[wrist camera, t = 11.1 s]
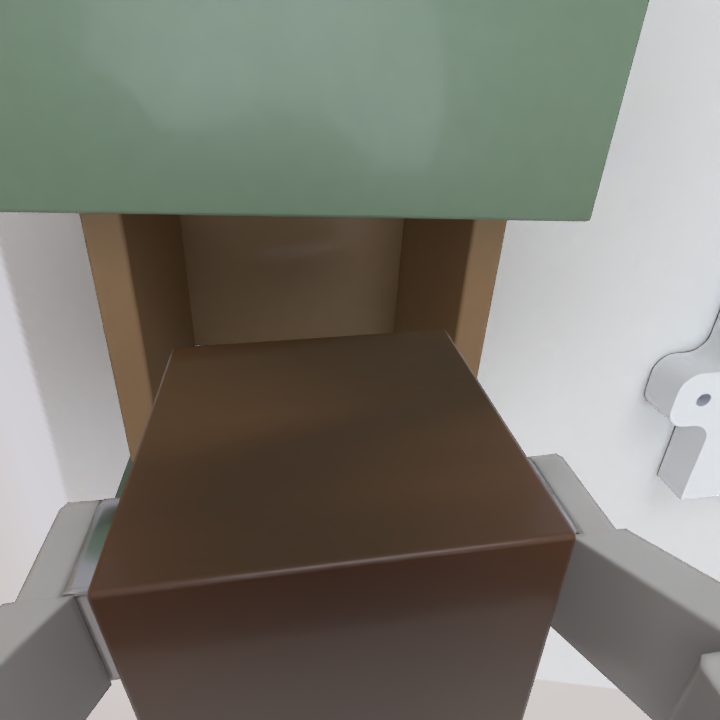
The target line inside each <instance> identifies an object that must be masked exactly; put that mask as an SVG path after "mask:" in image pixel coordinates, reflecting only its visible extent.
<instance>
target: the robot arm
mask: <svg viewBox="0 0 720 720" xmlns="http://www.w3.org/2000/svg"><path fill="white" fill-rule="evenodd" d="M527 458H528V460H529V461H530V463H531V464H532V466H533V468H534V469H535V471H536V472H537V474H538V475H539V477H540V478H541V480H542V482H543V483H544V485H545V486H546V488H547V489H548V491H549V493H550V494H551V496H552V497H553V499H554V500H555V502H556V503H557V505H558V507H559V508H560V510H561V511H562V513H563V514H564V516H565V518H566V519H567V521H568V522H569V524H570V525H571V527H572V528H573V530H574V532H575V535H576V541H575V545H574V548H573V551H572V555H571V558H570V561H569V565H568V568H567V572H566V575H565V578H564V582H563V585H562V588H561V592H560V595H559V598H558V602H557V605H556V609H555V612H554V615H553V619H552V622H551V625H550V626H551V627H552V628H553V629H554V630H556V631H557V632H558V633H559V634H560V635H561V636H562V637H563V638H564V639H565V640H566V641H567V642H569V643H570V644H571V645H572V646H573V647H574V648H575V649H576V650H577V651H578V652H579V653H581V654H582V655H583V656H584V657H585V658H586V659H587V660H588V661H589V662H590V663H591V664H592V665H594V666H595V667H596V668H597V669H598V670H599V671H600V672H601V673H602V674H603V675H604V676H606V677H607V678H608V679H609V680H610V681H611V682H612V683H613V684H614V685H615V686H616V687H617V688H619V689H620V690H621V691H622V692H623V693H624V694H625V695H626V696H627V697H628V698H629V699H631V700H632V701H633V702H634V703H635V704H636V705H637V706H638V707H639V708H640V709H641V710H643V711H644V712H645V713H646V714H647V715H648V716H649V717H650V718H651V719H652V720H720V582H718V581H717V580H715V579H713V578H711V577H710V576H708V575H706V574H704V573H703V572H701V571H699V570H697V569H696V568H694V567H692V566H690V565H689V564H687V563H685V562H683V561H681V560H680V559H678V558H676V557H674V556H673V555H671V554H669V553H667V552H666V551H664V550H662V549H660V548H659V547H657V546H655V545H653V544H652V543H650V542H648V541H646V540H645V539H643V538H641V537H639V536H638V535H636V534H634V533H632V532H631V531H629V530H627V529H618V530H616V529H615V527H614V526H613V525H612V523H611V522H610V520H609V519H608V518H607V516H606V515H605V514H604V512H603V511H602V510H601V508H600V507H599V506H598V504H597V503H596V502H595V500H594V499H593V498H592V496H591V495H590V493H589V492H588V491H587V489H586V488H585V487H584V485H583V484H582V483H581V481H580V480H579V479H578V477H577V476H576V475H575V473H574V472H573V471H572V469H571V468H570V467H569V465H568V464H567V462H566V461H565V460H564V458H563V457H561V456H559V455H558V454H550V455H541V456H532V457H527ZM119 500H120V498H111V499H104V500H97V501H82V502H68V503H67V504H66V505H65V506H64V507H62V508H61V509H60V510H59V512H58V514H57V516H56V518H55V520H54V522H53V525H52V526H51V529H50V531H49V533H48V535H47V537H46V539H45V541H44V543H43V545H42V547H41V549H40V551H39V553H38V555H37V558H36V560H35V562H34V564H33V566H32V568H31V570H30V572H29V574H28V576H27V578H26V580H25V582H24V584H23V587H22V589H21V591H20V593H19V595H18V597H17V599H16V601H15V602H13V603H6V604H2V605H1V606H0V720H86V718H87V717H88V716H89V714H90V713H91V711H92V710H93V709H94V707H95V706H96V705H97V703H98V702H99V701H100V699H101V698H102V697H103V695H104V694H105V692H106V691H107V690H108V688H109V687H110V686H111V680H116V679H120V676H119V674H118V672H117V669H116V667H115V664H114V662H113V660H112V657H111V655H110V652H109V650H108V648H107V645H106V643H105V640H104V638H103V636H102V633H101V631H100V628H99V626H98V624H97V621H96V619H95V616H94V614H93V612H92V609H91V607H90V604H89V602H88V599H87V592H88V589H89V586H90V583H91V580H92V577H93V575H94V572H95V569H96V566H97V563H98V560H99V557H100V555H101V552H102V549H103V546H104V543H105V540H106V537H107V535H108V532H109V529H110V526H111V523H112V520H113V517H114V515H115V512H116V509H117V506H118V503H119Z"/></svg>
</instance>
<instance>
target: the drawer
mask: <svg viewBox="0 0 720 720" xmlns="http://www.w3.org/2000/svg"><path fill="white" fill-rule="evenodd" d="M79 214H80V218H81V223H82V228H83V233H84V237H85V242H86V247H87V252H88V256H89V261H90V266H91V271H92V275H93V280H94V285H95V290H96V294H97V299H98V304H99V309H100V313H101V318H102V323H103V328H104V332H105V337H106V342H107V347H108V351H109V356H110V361H111V366H112V370H113V375H114V380H115V385H116V389H117V394H118V399H119V404H120V408H121V413H122V418H123V423H124V427H125V432H126V437H127V442H128V446H129V451H130V458H129V461H128V463H127V466H126V469H125V472H124V474H123V477H122V480H121V483H120V485H119V488H118V491H117V494H116V496H115V498H121V495H122V492H123V489H124V486H125V483H126V480H127V478H128V475H129V472H130V469H131V466H132V463H133V460H134V458H135V455H136V452H137V449H138V446H139V443H140V440H141V438H142V435H143V432H144V429H145V426H146V423H147V420H148V418H149V415H150V412H151V409H152V406H153V403H154V400H155V398H156V395H157V392H158V389H159V386H160V383H161V380H162V378H163V375H164V372H165V369H166V366H167V363H168V360H169V358H170V355H171V352H172V349H174V348H177V347H192V346H195V345H221V344H236V343H250V342H265V341H280V340H294V339H309V338H324V337H338V336H353V335H368V334H382V333H397V332H412V331H426V330H441V329H442V330H446V332H447V333H448V335H449V336H450V338H451V339H452V341H453V343H454V344H455V346H456V347H457V349H458V350H459V352H460V353H461V355H462V357H463V358H464V360H465V361H466V363H467V364H468V366H469V368H470V369H471V371H472V372H473V374H474V375H475V377H476V378H477V374H478V369H479V363H480V358H481V353H482V348H483V342H484V337H485V332H486V327H487V321H488V316H489V311H490V306H491V300H492V295H493V290H494V285H495V279H496V274H497V269H498V264H499V258H500V253H501V248H502V243H503V238H504V232H505V227H506V222H507V220H471V219H409V218H347V217H286V216H224V215H162V214H100V213H79Z"/></svg>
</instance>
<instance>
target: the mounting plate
mask: <svg viewBox="0 0 720 720" xmlns="http://www.w3.org/2000/svg"><path fill="white" fill-rule="evenodd" d="M645 397H646V399H647V401H648V402H649V403H650V404H652V405H653V406H654V407H655V408H656V409H657V410H658V411H659V412H660V413H662V414H663V415H664V416H665V417H666V418H667V419H668V420H669V421H670V422H672V423H673V424H674V425H675V426H676V427H675V430H674V433H673V435H672V438H671V441H670V443H669V446H668V448H667V451H666V454H665V456H664V459H663V462H662V464H661V467H660V469H659V472H658V475H657V476H658V477H659V478H660V479H661V480H662V481H663V482H664V483H665V484H666V485H667V486H668V487H669V488H670V489H671V491H672V492H673V493H674V494H675V495H676V496H677V497H678V498H679V499H680V500H683V499H693V498H702V497H711V496H720V312H719V315H718V318H717V320H716V323H715V325H714V328H713V331H712V333H711V335H710V337H709V339H708V340H707V341H706V342H705V343H704V344H703V345H702V346H701V347H699V348H698V349H696V350H693V351H691V352H684V353H674V354H670V355H668V356H665V357H664V358H662V359H661V360H660V361H659V362H658V363H657V364H656V365H655V366H654V368H653V370H652V372H651V375H650V378H649V381H648V384H647V387H646V391H645Z"/></svg>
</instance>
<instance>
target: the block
mask: <svg viewBox="0 0 720 720" xmlns="http://www.w3.org/2000/svg"><path fill="white" fill-rule="evenodd" d="M575 541H576V535H575V532H574V530H573V528H572V527H571V525H570V524H569V522H568V521H567V519H566V518H565V516H564V514H563V513H562V511H561V510H560V508H559V507H558V505H557V503H556V502H555V500H554V499H553V497H552V496H551V494H550V493H549V491H548V489H547V488H546V486H545V485H544V483H543V482H542V480H541V478H540V477H539V475H538V474H537V472H536V471H535V469H534V468H533V466H532V464H531V463H530V461H529V460H528V458H527V457H526V455H525V453H524V452H523V450H522V449H521V447H520V446H519V444H518V443H517V441H516V439H515V438H514V436H513V435H512V433H511V432H510V430H509V428H508V427H507V425H506V424H505V422H504V421H503V419H502V418H501V416H500V414H499V413H498V411H497V410H496V408H495V407H494V405H493V403H492V402H491V400H490V399H489V397H488V396H487V394H486V393H485V391H484V389H483V388H482V386H481V385H480V383H479V382H478V380H477V378H476V377H475V375H474V374H473V372H472V371H471V369H470V368H469V366H468V364H467V363H466V361H465V360H464V358H463V357H462V355H461V353H460V352H459V350H458V349H457V347H456V346H455V344H454V343H453V341H452V339H451V338H450V336H449V335H448V333H447V332H446V330H442V329H441V330H426V331H412V332H397V333H382V334H368V335H353V336H338V337H324V338H309V339H294V340H280V341H265V342H250V343H236V344H221V345H206V346H192V347H177V348H174V349H172V352H171V355H170V358H169V360H168V363H167V366H166V369H165V372H164V375H163V378H162V380H161V383H160V386H159V389H158V392H157V395H156V398H155V400H154V403H153V406H152V409H151V412H150V415H149V418H148V420H147V423H146V426H145V429H144V432H143V435H142V438H141V440H140V443H139V446H138V449H137V452H136V455H135V458H134V460H133V463H132V466H131V469H130V472H129V475H128V478H127V480H126V483H125V486H124V489H123V492H122V495H121V498H120V500H119V503H118V506H117V509H116V512H115V515H114V517H113V520H112V523H111V526H110V529H109V532H108V535H107V537H106V540H105V543H104V546H103V549H102V552H101V555H100V557H99V560H98V563H97V566H96V569H95V572H94V575H93V577H92V580H91V583H90V586H89V589H88V592H87V599H88V602H89V604H90V607H91V609H92V612H93V614H94V616H95V619H96V621H97V624H98V626H99V628H100V631H101V633H102V636H103V638H104V640H105V643H106V645H107V648H108V650H109V652H110V655H111V657H112V660H113V662H114V664H115V667H116V669H117V672H118V674H119V676H120V679H121V681H122V683H123V686H124V688H125V691H126V693H127V696H128V698H129V700H130V703H131V705H132V708H133V710H134V712H135V715H136V717H137V720H522V719H523V716H524V713H525V709H526V706H527V702H528V699H529V696H530V692H531V689H532V686H533V682H534V679H535V676H536V672H537V669H538V666H539V662H540V659H541V656H542V652H543V649H544V646H545V642H546V639H547V635H548V632H549V629H550V625H551V622H552V619H553V615H554V612H555V609H556V605H557V602H558V598H559V595H560V592H561V588H562V585H563V582H564V578H565V575H566V572H567V568H568V565H569V561H570V558H571V555H572V551H573V548H574V545H575Z"/></svg>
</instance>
